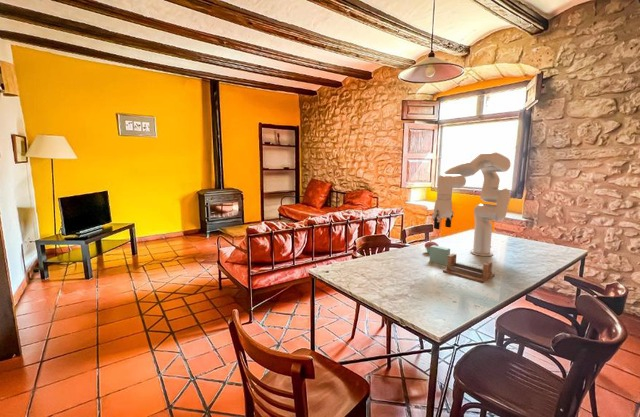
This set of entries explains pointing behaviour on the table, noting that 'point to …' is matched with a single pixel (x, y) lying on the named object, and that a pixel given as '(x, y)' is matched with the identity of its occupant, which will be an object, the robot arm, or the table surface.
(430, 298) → the table surface
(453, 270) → the brown wooden holder
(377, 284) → the table surface
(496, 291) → the table surface
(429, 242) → the cupcake
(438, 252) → the door panel
